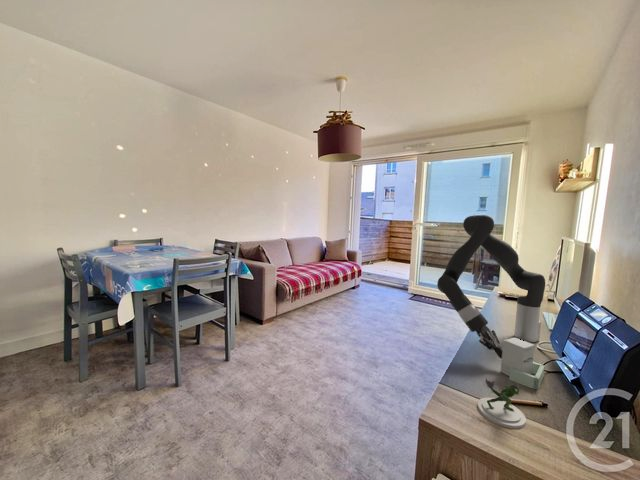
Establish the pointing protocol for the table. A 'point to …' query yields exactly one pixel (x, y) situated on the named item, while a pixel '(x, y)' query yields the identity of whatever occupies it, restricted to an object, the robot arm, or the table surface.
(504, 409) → the monster figurine
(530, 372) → the supplement box
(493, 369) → the table surface
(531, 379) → the holder
